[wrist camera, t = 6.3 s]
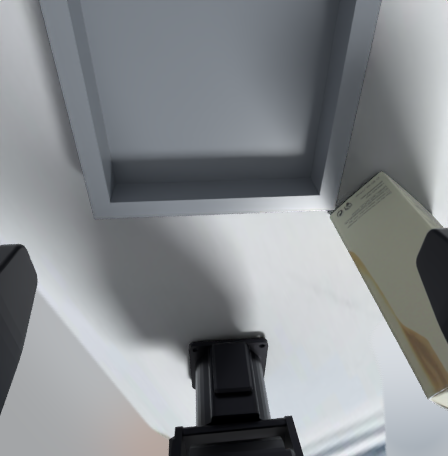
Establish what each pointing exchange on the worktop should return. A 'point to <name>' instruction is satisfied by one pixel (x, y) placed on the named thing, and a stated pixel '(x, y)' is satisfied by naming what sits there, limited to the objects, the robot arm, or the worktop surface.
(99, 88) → the tray
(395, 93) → the worktop surface
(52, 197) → the worktop surface
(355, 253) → the skincare box
